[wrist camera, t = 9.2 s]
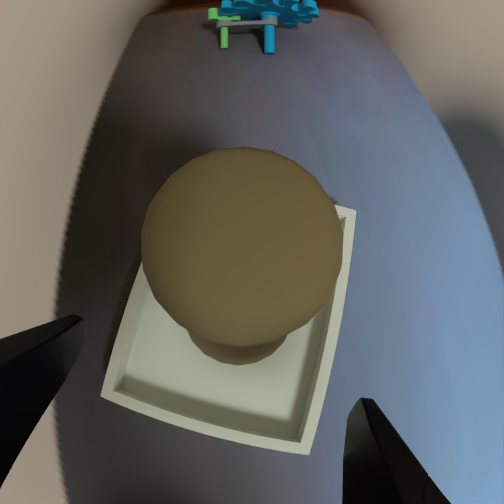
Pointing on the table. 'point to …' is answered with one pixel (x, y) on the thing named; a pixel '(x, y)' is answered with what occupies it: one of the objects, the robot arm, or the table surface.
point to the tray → (228, 372)
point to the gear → (261, 17)
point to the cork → (241, 251)
